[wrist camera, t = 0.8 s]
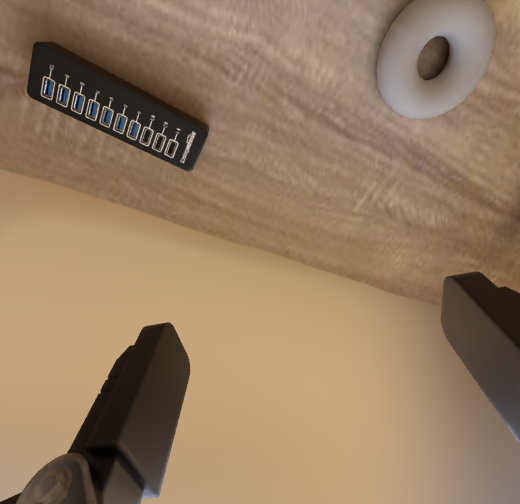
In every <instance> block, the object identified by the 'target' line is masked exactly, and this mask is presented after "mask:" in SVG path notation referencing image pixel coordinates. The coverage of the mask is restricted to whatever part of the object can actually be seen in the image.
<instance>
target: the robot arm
mask: <svg viewBox="0 0 520 504" xmlns="http://www.w3.org/2000/svg"><path fill="white" fill-rule="evenodd" d="M441 324H442V328H443V331H444V334H445V336H446V338H447V340H448V341H449V343H450V344H451V346H452V347H453V349H454V350H455V352H456V353H457V354H458V356H459V357H460V359H461V360H462V362H463V363H464V365H465V366H466V367H467V369H468V370H469V372H470V373H471V375H472V376H473V378H474V379H475V380H476V382H477V383H478V385H479V386H480V387H481V389H482V390H483V392H484V393H485V395H486V396H487V398H488V399H489V401H490V402H491V403H492V405H493V406H494V408H495V409H496V411H497V412H498V413H499V415H500V416H501V418H502V419H503V421H504V422H505V424H506V425H507V427H508V428H509V429H510V431H511V432H512V434H513V435H514V437H515V438H516V440H517V441H518V443H519V444H520V293H518V292H516V291H513V290H511V289H509V288H507V287H500V288H497V287H496V286H495V285H494V284H493V283H492V282H491V281H490V280H489V279H488V278H486V277H485V276H484V275H483V274H482V273H480V272H471V273H465V274H459V275H453V276H448V277H446V278H445V280H444V286H443V299H442V312H441ZM189 376H190V363H189V358H188V355H187V353H186V351H185V349H184V347H183V345H182V343H181V341H180V339H179V337H178V334H177V332H176V330H175V328H174V326H173V325H172V324H171V323H169V322H167V323H162V324H156V325H150V326H145V327H144V328H143V329H142V330H141V332H140V334H139V336H138V339H137V341H136V343H135V345H133V346H129V347H128V348H127V350H125V352H124V353H123V354H122V355H121V356H120V357H119V358H118V359H117V360H116V362H115V364H114V366H113V368H112V369H111V371H110V373H109V375H108V380H106V381H105V383H104V385H103V387H102V389H101V393H100V394H98V396H97V398H96V400H95V402H94V404H93V406H92V407H91V410H90V411H89V413H88V415H87V417H86V419H85V421H84V423H83V425H82V426H81V428H80V430H79V432H78V434H77V436H76V438H75V440H74V442H73V444H72V445H71V447H70V449H69V451H68V452H67V454H65V455H62V456H59V457H57V458H55V459H54V460H52V461H51V462H49V463H48V464H46V465H45V466H44V467H43V468H42V469H40V470H39V471H38V472H37V473H36V474H35V476H34V477H33V478H32V479H31V480H30V481H29V483H28V484H27V485H26V487H25V488H24V490H23V491H22V492H21V493H19V494H17V495H15V496H13V497H11V498H8V499H6V500H4V501H2V502H0V504H140V503H141V499H143V498H154V497H159V494H160V490H161V486H162V483H163V479H164V475H165V471H166V467H167V463H168V459H169V455H170V451H171V447H172V443H173V439H174V435H175V431H176V427H177V424H178V419H179V415H180V411H181V408H182V404H183V400H184V396H185V392H186V388H187V384H188V380H189Z"/></svg>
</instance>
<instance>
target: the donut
mask: <svg viewBox="0 0 520 504" xmlns="http://www.w3.org/2000/svg"><path fill="white" fill-rule="evenodd" d="M436 36H443V37H445V38H446V39H447V41H448V42H449V46H450V52H449V58H448V61H447V64H446V65H445V67H444V69H443V70H442V72H441V73H440V74H439V75H438V76H436V77H435V78H433V79H430V80H424V79H422V78H421V77H420V75H419V73H418V70H417V62H418V58H419V55H420V52H421V51H422V49H423V47H424V46H425V45H426V44H427V42H428V41H430V40H431V39H433V38H434V37H436ZM495 39H496V26H495V19H494V13H493V11H492V10H491V8H490V6H489V5H488V3H487V1H486V0H414V1H413V2H412V3H410V4H409V5H408V6H406V7H405V9H404V10H403V11H402V12H401V13H400V15H399V16H398V17H397V18H396V20H395V21H394V22H393V23H392V24H391V26H390V28H389V30H388V32H387V34H386V36H385V39H384V41H383V43H382V45H381V49H380V53H379V58H378V62H377V85H378V87H379V90H380V93H381V95H382V98H383V100H384V101H385V102H386V103H387V105H388V106H389V107H390V108H391V109H392V110H393V111H394V112H395V113H397V114H399V115H402V116H404V117H406V118H411V119H428V118H431V117H434V116H438V115H441V114H443V113H445V112H447V111H448V110H450V109H451V108H453V107H455V106H456V105H458V104H460V103H461V102H462V101H463V100H464V99H465V98H466V97H467V96H468V95H469V94H470V93H471V92H472V91H473V90H474V89H475V87H476V86H477V84H478V83H479V81H480V80H481V78H482V77H483V75H484V74H485V72H486V70H487V68H488V65H489V63H490V60H491V57H492V55H493V52H494V46H495Z"/></svg>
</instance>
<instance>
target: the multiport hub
mask: <svg viewBox="0 0 520 504" xmlns="http://www.w3.org/2000/svg"><path fill="white" fill-rule="evenodd" d="M27 93H28V95H29V96H30V97H31V98H33V99H35V100H37V101H39V102H41V103H43V104H45V105H48V106H50V107H52V108H54V109H56V110H58V111H60V112H62V113H65V114H67V115H69V116H71V117H73V118H75V119H77V120H79V121H82V122H84V123H86V124H88V125H90V126H92V127H94V128H96V129H99V130H101V131H103V132H105V133H107V134H109V135H111V136H113V137H116V138H118V139H120V140H122V141H124V142H126V143H128V144H130V145H133V146H135V147H137V148H139V149H141V150H143V151H145V152H147V153H150V154H152V155H154V156H156V157H158V158H160V159H162V160H164V161H166V162H169V163H171V164H173V165H175V166H177V167H179V168H181V169H183V170H186V171H192V170H193V168H194V165H195V163H196V161H197V159H198V156H199V154H200V152H201V150H202V147H203V145H204V143H205V141H206V138H207V136H208V131H209V127H208V126H207V125H206V124H205V123H203V122H201V121H199V120H197V119H195V118H194V117H192V116H190V115H188V114H186V113H184V112H182V111H181V110H179V109H177V108H175V107H173V106H171V105H169V104H167V103H166V102H164V101H162V100H160V99H158V98H156V97H154V96H153V95H151V94H149V93H147V92H145V91H143V90H141V89H140V88H138V87H136V86H134V85H132V84H130V83H128V82H126V81H125V80H123V79H121V78H119V77H117V76H115V75H113V74H112V73H110V72H108V71H106V70H104V69H102V68H100V67H99V66H97V65H95V64H93V63H91V62H89V61H87V60H85V59H84V58H82V57H80V56H78V55H76V54H74V53H72V52H71V51H69V50H67V49H65V48H63V47H61V46H59V45H58V44H56V43H54V42H35V43H34V45H33V52H32V59H31V66H30V73H29V80H28V87H27Z"/></svg>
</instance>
